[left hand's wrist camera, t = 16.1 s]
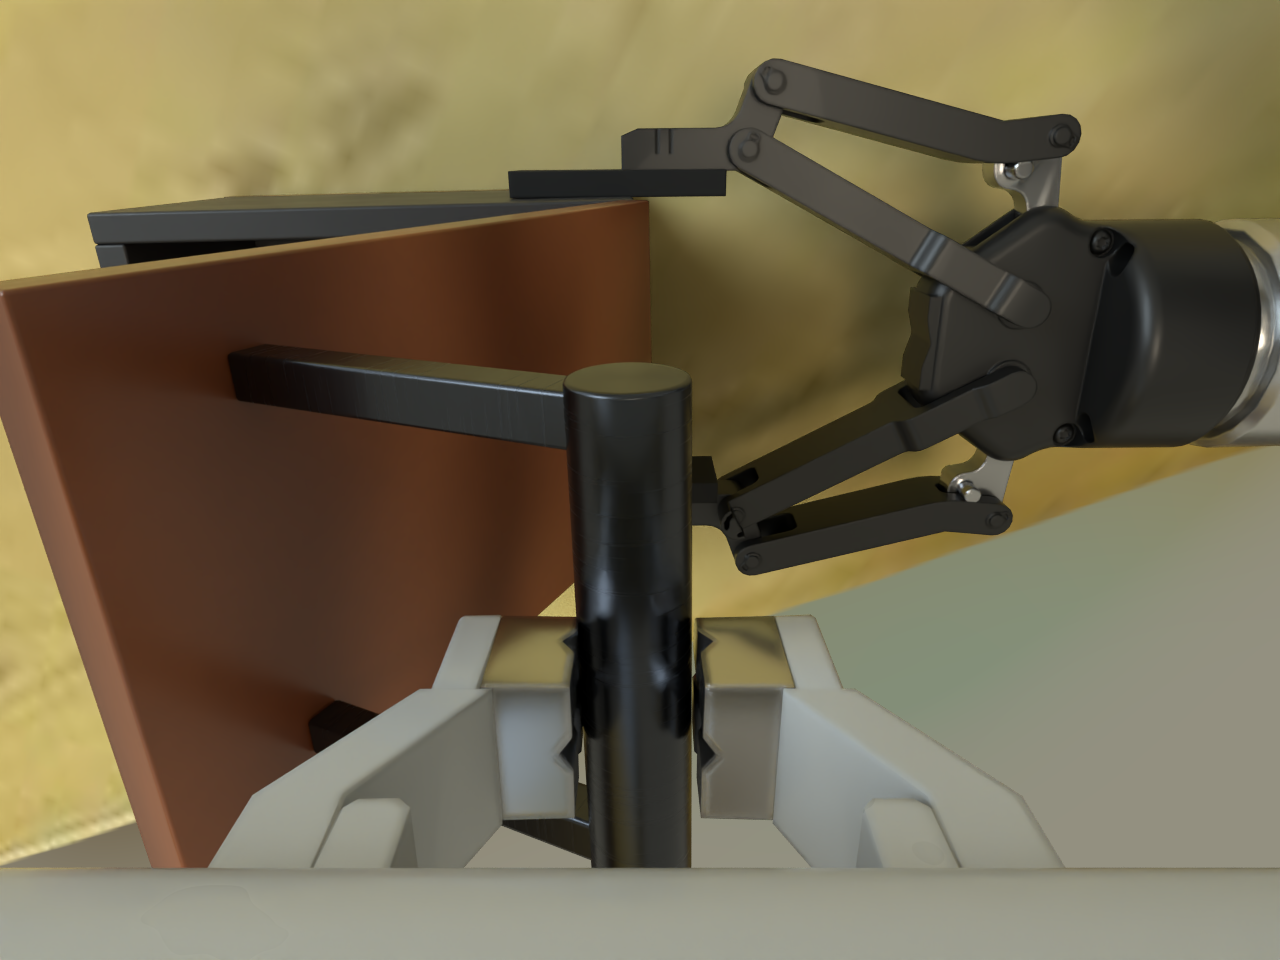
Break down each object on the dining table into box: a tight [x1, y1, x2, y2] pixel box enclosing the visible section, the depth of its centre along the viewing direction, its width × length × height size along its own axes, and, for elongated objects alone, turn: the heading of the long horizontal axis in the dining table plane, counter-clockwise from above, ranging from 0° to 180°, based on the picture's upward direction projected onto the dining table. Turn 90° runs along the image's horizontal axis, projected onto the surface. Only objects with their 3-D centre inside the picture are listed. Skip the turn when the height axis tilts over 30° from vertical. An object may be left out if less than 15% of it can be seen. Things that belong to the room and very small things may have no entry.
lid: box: [0, 200, 692, 868], centre depth 16 cm, size 16×9×8 cm
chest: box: [87, 189, 633, 268], centre depth 29 cm, size 15×9×10 cm, turn 91°
